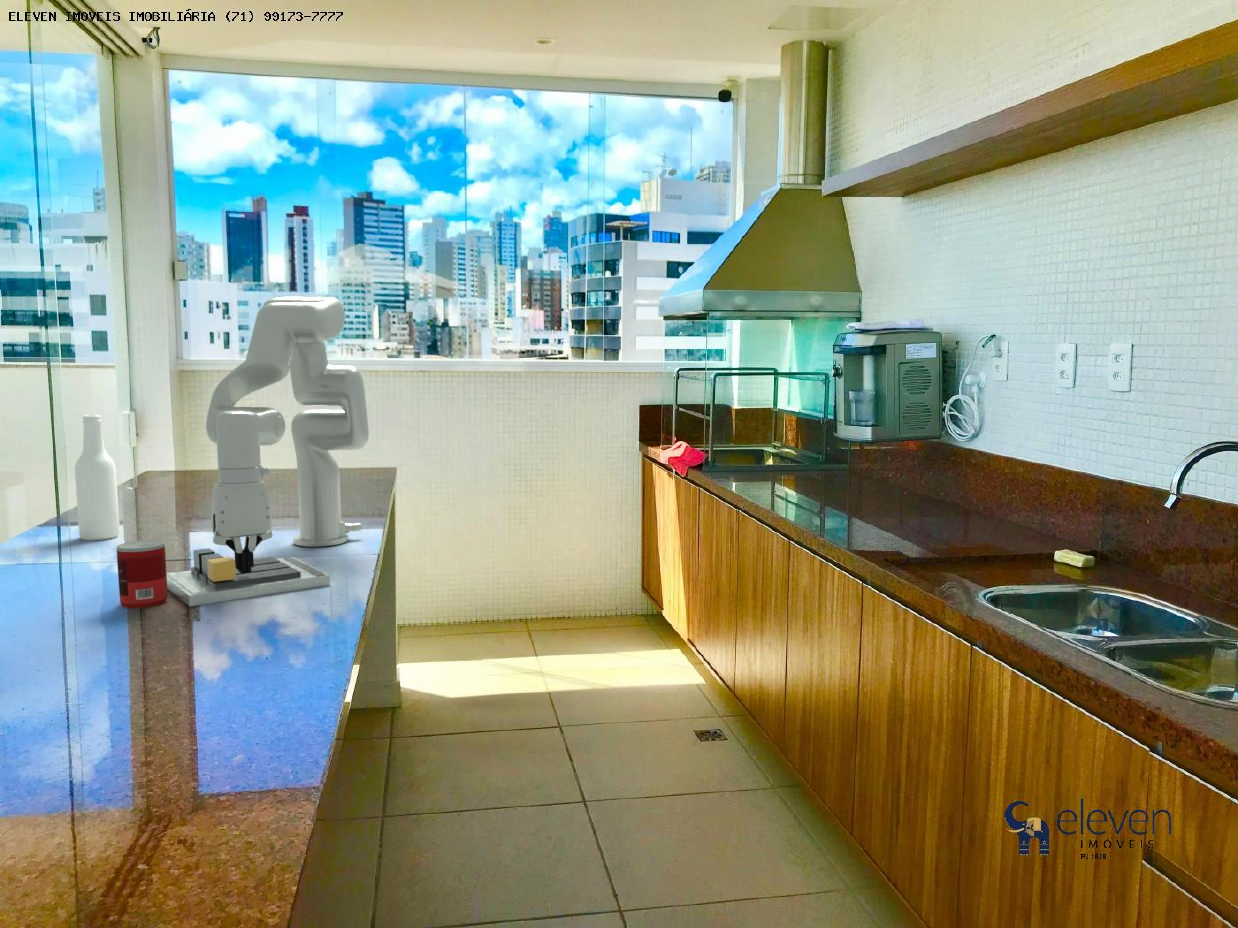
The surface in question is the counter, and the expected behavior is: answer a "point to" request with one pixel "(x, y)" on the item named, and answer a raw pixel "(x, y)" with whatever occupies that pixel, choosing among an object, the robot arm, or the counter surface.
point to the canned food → (142, 573)
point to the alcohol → (96, 486)
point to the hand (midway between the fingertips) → (244, 571)
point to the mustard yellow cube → (221, 569)
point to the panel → (243, 579)
